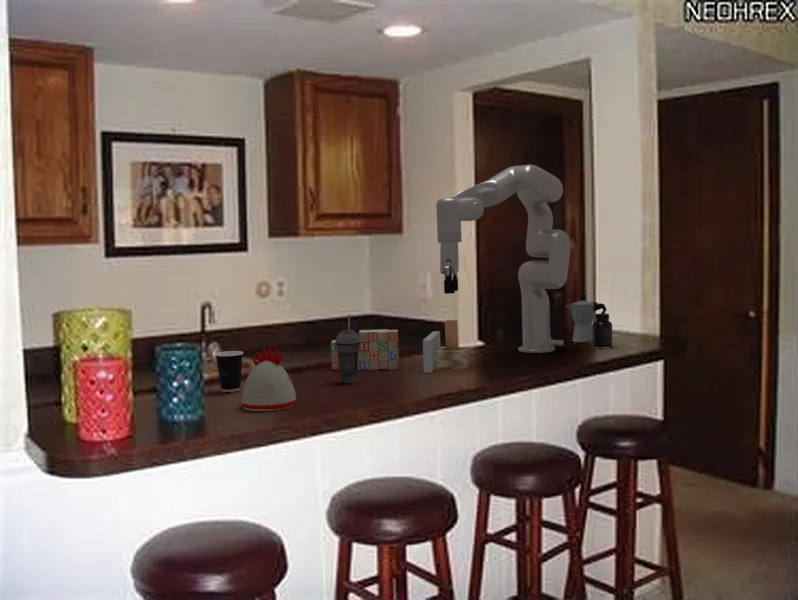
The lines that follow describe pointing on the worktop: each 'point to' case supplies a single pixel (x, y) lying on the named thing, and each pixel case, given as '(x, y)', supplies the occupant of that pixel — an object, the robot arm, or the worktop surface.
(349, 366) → the beverage cup
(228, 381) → the dixie cup
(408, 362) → the worktop surface
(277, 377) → the kitchen timer
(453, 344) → the dowel
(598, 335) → the supplement bottle
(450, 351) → the socket block
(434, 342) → the backstop wall
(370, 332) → the stack of blocks
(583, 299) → the coffee maker
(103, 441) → the worktop surface
